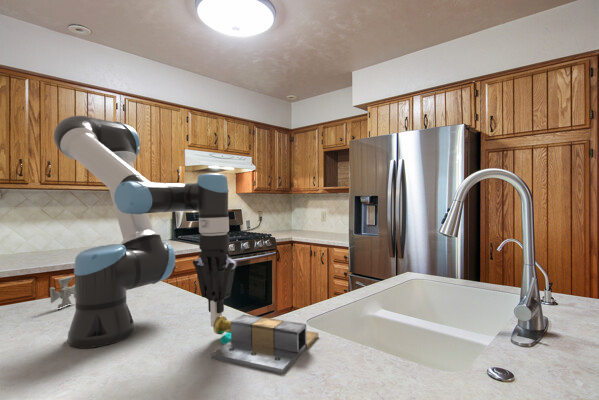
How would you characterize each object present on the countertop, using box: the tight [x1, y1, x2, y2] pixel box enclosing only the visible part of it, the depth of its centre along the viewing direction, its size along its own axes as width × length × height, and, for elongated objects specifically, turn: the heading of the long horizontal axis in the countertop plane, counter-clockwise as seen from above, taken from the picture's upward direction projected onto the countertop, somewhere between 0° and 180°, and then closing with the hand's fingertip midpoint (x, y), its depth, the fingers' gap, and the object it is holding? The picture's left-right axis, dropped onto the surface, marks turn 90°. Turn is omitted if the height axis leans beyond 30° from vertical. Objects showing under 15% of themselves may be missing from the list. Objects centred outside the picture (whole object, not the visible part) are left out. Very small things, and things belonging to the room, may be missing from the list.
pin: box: [213, 315, 232, 335], centre depth 83 cm, size 20×4×4 cm, turn 66°
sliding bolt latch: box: [210, 314, 319, 375], centre depth 82 cm, size 18×20×6 cm
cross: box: [49, 275, 75, 308], centre depth 114 cm, size 10×3×10 cm, turn 166°
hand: (216, 324), depth 88 cm, fingers closed
